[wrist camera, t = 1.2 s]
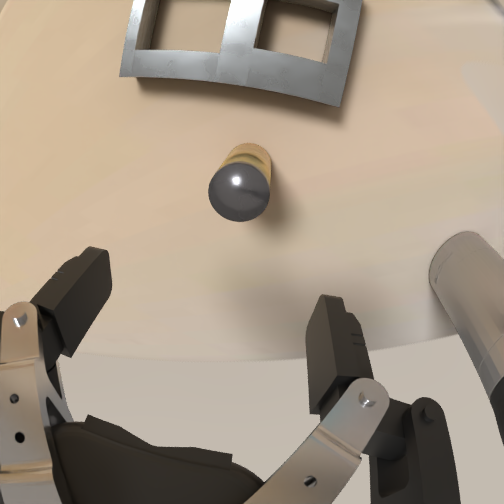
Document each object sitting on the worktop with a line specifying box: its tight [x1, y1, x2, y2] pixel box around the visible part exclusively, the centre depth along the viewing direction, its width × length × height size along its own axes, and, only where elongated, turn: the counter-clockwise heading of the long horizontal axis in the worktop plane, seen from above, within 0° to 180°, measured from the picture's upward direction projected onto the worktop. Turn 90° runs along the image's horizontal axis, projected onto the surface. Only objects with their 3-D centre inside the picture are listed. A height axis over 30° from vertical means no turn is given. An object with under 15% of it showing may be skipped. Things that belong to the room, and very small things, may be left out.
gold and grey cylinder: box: [208, 143, 271, 222], centre depth 22 cm, size 4×4×8 cm
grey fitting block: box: [119, 0, 362, 107], centre depth 18 cm, size 18×12×3 cm, turn 79°
